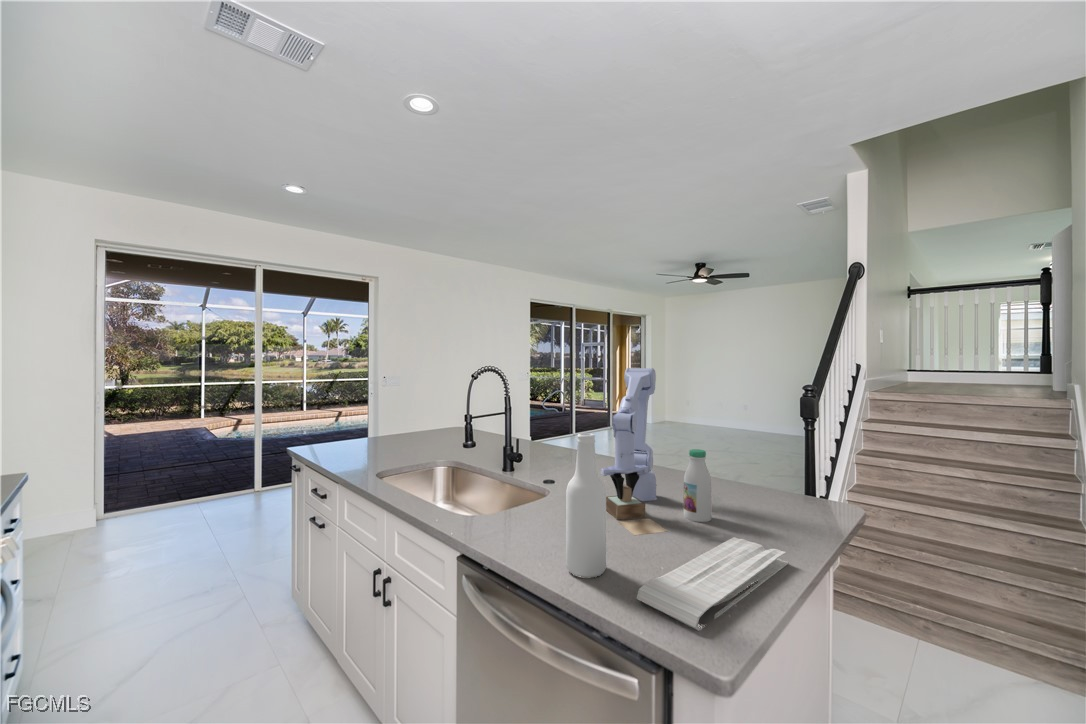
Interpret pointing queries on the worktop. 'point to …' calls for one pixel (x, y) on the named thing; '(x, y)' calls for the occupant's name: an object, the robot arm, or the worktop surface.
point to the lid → (625, 497)
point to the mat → (642, 526)
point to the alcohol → (586, 514)
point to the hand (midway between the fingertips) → (624, 497)
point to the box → (625, 509)
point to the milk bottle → (697, 488)
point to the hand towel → (711, 580)
